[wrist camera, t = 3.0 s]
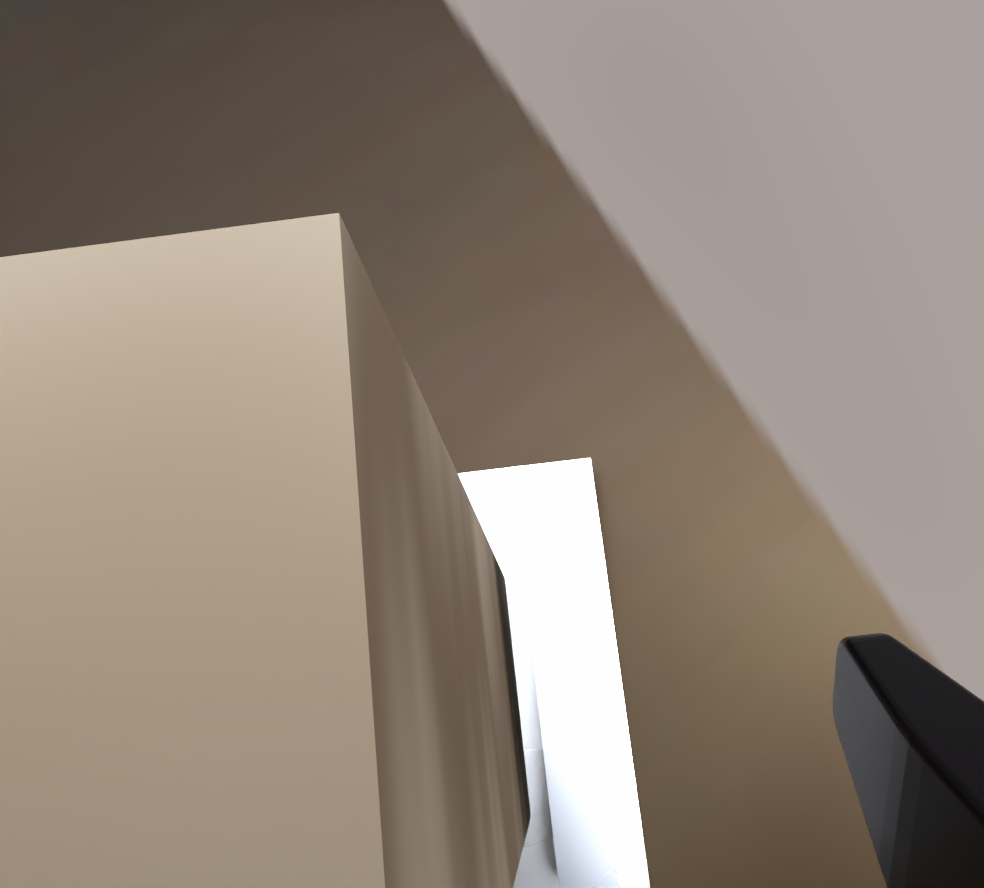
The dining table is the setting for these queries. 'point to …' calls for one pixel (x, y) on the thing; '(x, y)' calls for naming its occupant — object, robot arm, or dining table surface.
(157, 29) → the dining table surface
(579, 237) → the dining table surface
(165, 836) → the beige rectangular block
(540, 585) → the rack
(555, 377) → the dining table surface
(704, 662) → the dining table surface
